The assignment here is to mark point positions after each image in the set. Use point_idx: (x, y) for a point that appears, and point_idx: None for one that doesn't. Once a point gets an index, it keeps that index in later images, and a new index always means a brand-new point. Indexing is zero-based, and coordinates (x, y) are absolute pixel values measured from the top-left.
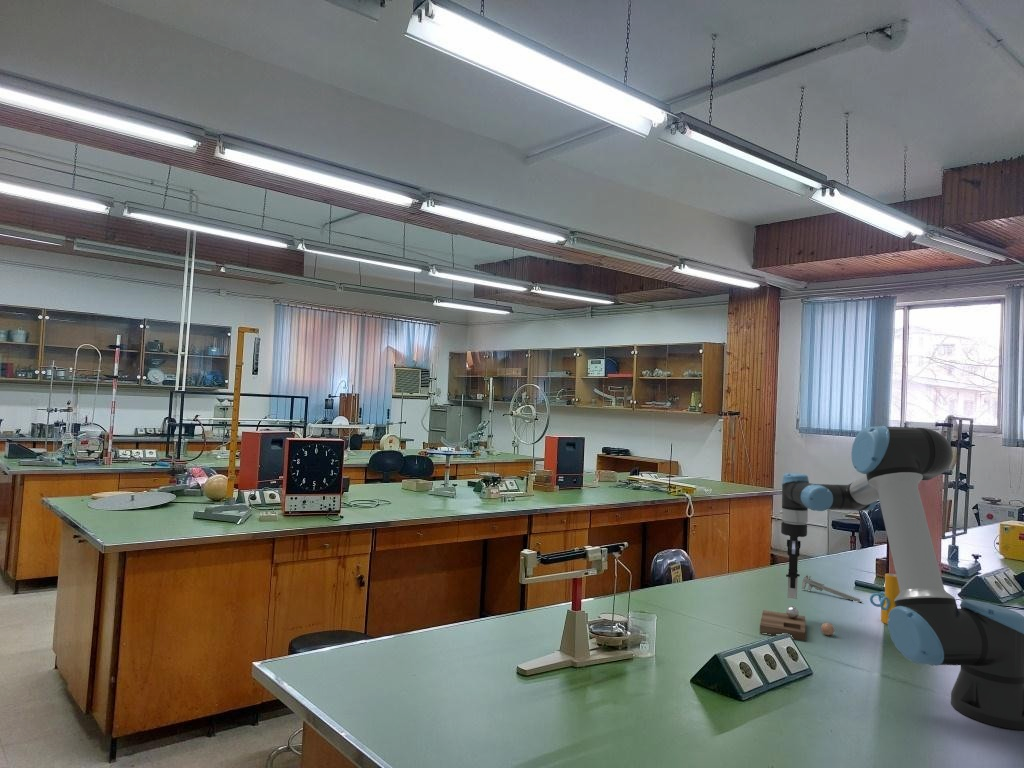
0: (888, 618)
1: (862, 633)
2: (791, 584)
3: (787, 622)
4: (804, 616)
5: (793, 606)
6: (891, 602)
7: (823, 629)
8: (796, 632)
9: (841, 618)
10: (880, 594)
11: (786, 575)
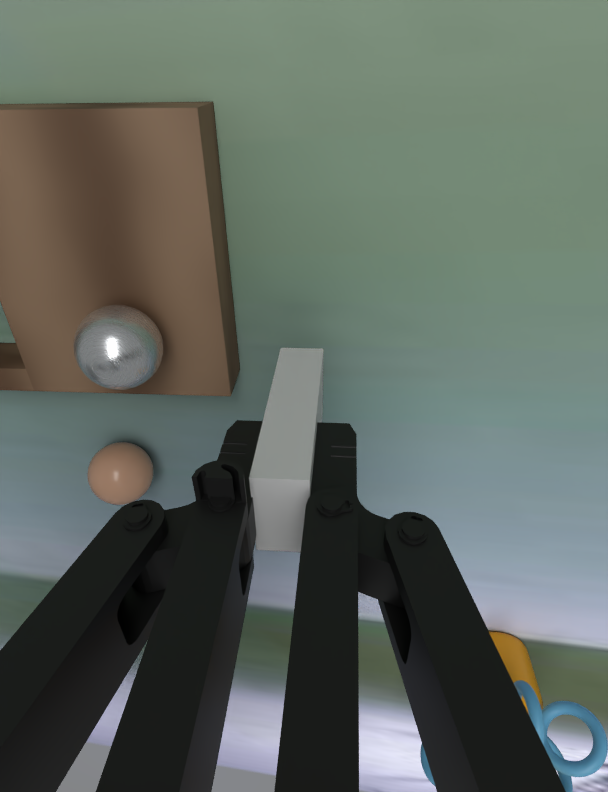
0: None
1: (267, 562)
2: (225, 453)
3: (5, 300)
4: (228, 393)
5: (113, 374)
6: None
7: (92, 458)
8: None
9: (473, 522)
10: None
11: (195, 477)
